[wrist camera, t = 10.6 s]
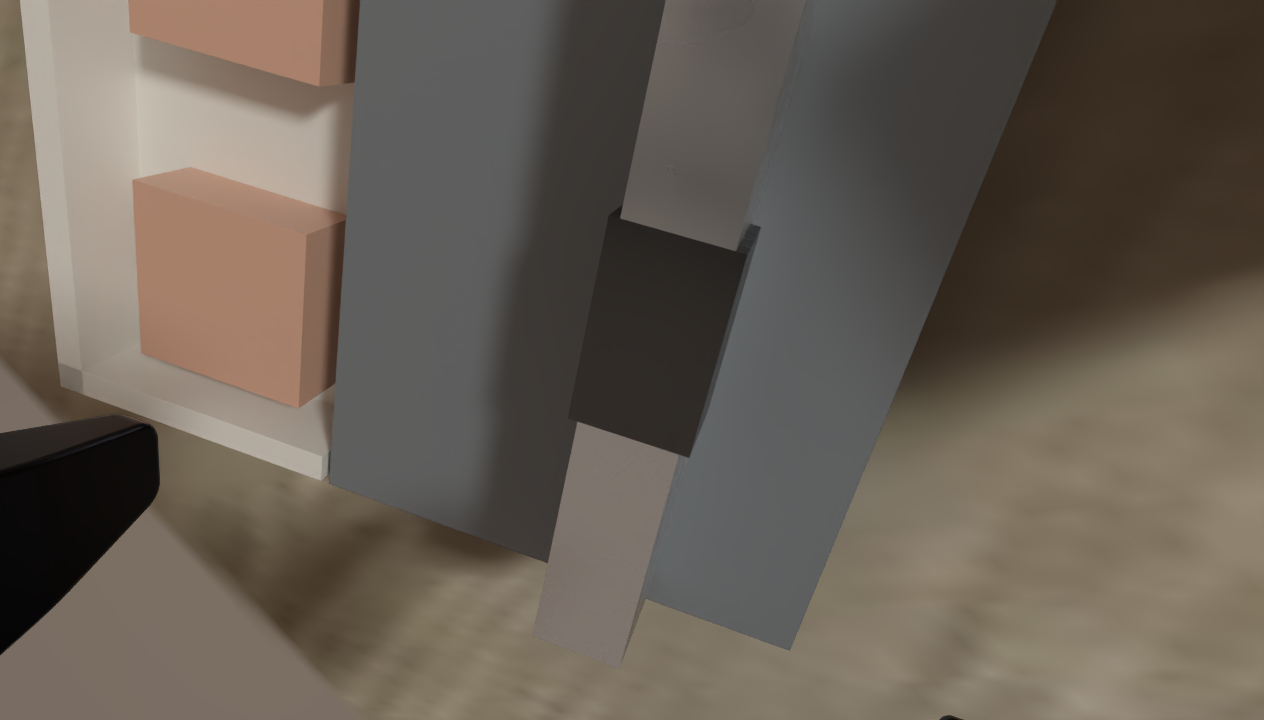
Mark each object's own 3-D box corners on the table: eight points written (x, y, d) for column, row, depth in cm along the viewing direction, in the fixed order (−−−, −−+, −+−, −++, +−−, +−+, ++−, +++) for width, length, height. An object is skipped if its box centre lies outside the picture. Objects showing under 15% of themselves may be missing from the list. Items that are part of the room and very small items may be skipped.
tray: (441, -227, 18) (364, -271, 15) (379, 431, 25) (321, 480, 22) (109, -298, 19) (-18, -351, 16) (142, 349, 26) (60, 386, 23)
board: (1064, -93, 16) (1105, -116, 13) (798, 577, 23) (789, 650, 20) (451, -224, 17) (377, -269, 15) (386, 433, 25) (328, 483, 22)
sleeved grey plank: (859, -97, 14) (858, -132, 11) (664, 572, 20) (628, 671, 17) (724, -126, 14) (686, -167, 11) (575, 540, 21) (523, 633, 18)
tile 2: (352, 217, 22) (306, 234, 20) (341, 379, 24) (298, 408, 22) (190, 167, 22) (132, 179, 20) (193, 328, 24) (141, 353, 23)
